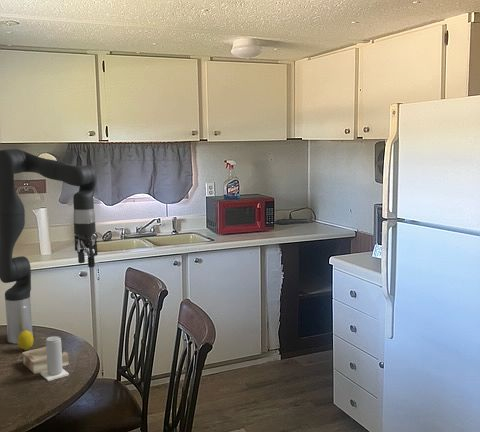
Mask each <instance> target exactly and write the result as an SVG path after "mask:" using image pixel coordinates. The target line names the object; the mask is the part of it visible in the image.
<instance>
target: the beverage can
mask: <svg viewBox="0 0 480 432" xmlns="http://www.w3.org/2000/svg"><path fill="white" fill-rule="evenodd" d="M45 347H46V352H47V369H48V370H47V371H48V373H49V374H50V375H58V374H60V373H61V372H62V371H63V369H64V368H63V367H64V366H62V353H63V352H62V338H61V336H59V335H57V336H56V335H52V336H49V337H47V338H46V339H45Z"/></svg>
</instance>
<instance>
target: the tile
mask: <svg viewBox="0 0 480 432" xmlns="http://www.w3.org/2000/svg"><path fill="white" fill-rule="evenodd" d="M40 375H41V376H42V377H43V378H44V379H45V380H46V381H48V382H50V381H53V380H56V379H60V378H64V377H68V376H70V373H69V372H68V371H67V370H65V369H64V368H63V371H62V372H61V373H60V374H58V375H50V374H49V373H48V370H47V371H44V372H40Z"/></svg>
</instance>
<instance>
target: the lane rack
mask: <svg viewBox="0 0 480 432" xmlns="http://www.w3.org/2000/svg"><path fill="white" fill-rule="evenodd" d="M21 355H22V363H23V365H24V366H25V367H27V369H28V370H29V371H31V372H32V373H33V374H34V375H36V374H39V373H40V374H41V372H44V371H48V369H47V352H46V346H44V347H39V348H36V349H30V350H25V351H24V352H23V351H22V354H21ZM69 357H70V356H69V353H68V352H67V351H63V352H62V367H65V366H68V365H70V363H69V362H70V361H69V359H70V358H69Z"/></svg>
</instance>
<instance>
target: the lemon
mask: <svg viewBox="0 0 480 432" xmlns="http://www.w3.org/2000/svg"><path fill="white" fill-rule="evenodd" d="M33 344H34V335H32V333H31V332H30V331H27V330H24V331H22V332H21V333H20V334H19V336H18V343H17V345H18V347H19V348H20V349H22V350H24V351H29V349H30V348H32V347H33Z"/></svg>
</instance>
